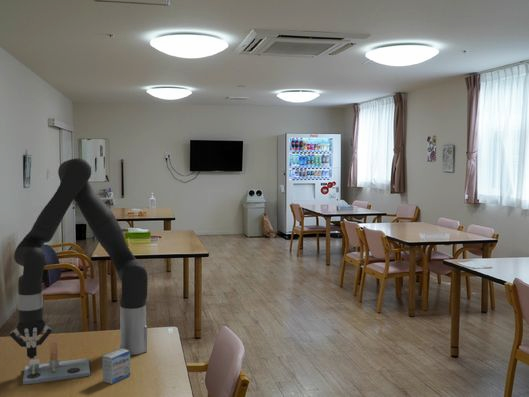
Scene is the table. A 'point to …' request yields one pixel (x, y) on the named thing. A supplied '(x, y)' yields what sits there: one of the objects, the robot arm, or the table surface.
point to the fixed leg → (34, 365)
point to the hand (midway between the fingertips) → (31, 357)
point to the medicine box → (116, 366)
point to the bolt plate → (58, 371)
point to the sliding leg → (53, 354)
